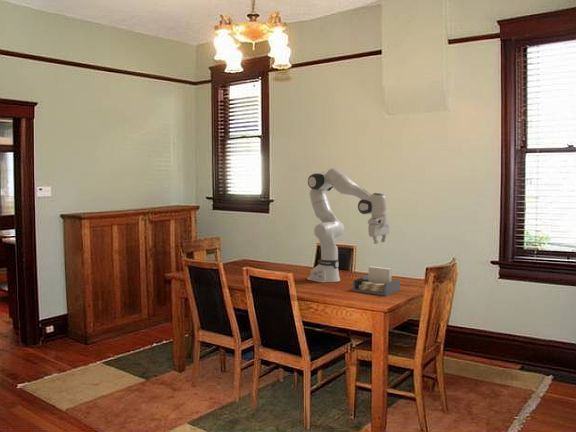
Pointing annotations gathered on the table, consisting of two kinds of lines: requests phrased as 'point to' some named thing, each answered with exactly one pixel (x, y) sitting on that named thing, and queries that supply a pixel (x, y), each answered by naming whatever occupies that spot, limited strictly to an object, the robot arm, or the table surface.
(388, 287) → the rack
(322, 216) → the robot arm
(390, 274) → the cream slab
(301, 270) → the table surface
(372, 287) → the offcut stack
